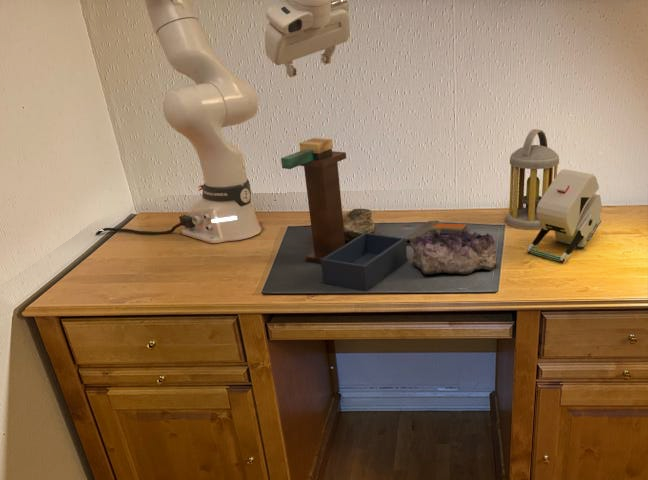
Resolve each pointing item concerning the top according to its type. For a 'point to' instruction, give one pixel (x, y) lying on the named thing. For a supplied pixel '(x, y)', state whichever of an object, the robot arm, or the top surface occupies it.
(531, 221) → the lantern
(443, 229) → the handgun
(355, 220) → the stone
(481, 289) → the top surface
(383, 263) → the desk bin
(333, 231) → the stand
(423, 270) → the geode
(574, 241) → the robotic device
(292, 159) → the brush
